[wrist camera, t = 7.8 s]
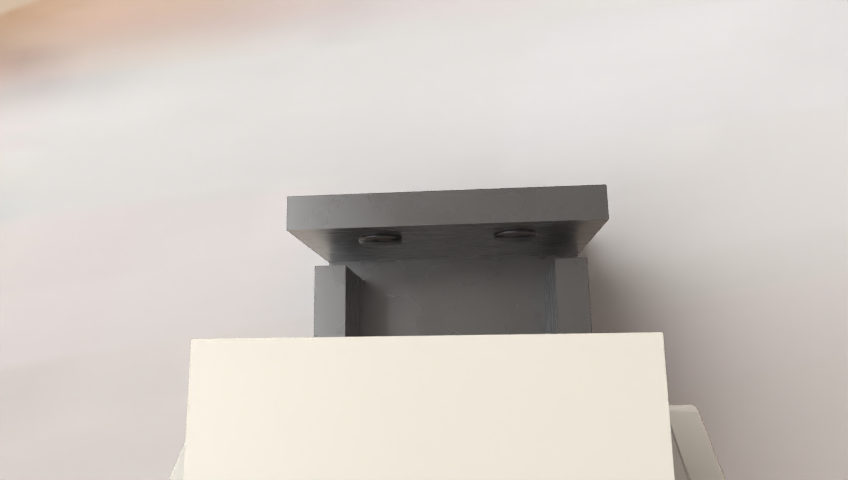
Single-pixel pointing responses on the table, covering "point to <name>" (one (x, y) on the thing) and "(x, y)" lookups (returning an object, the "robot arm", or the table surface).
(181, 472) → the robot arm
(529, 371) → the ivory rectangular block
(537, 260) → the bracket
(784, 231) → the table surface
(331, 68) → the table surface
